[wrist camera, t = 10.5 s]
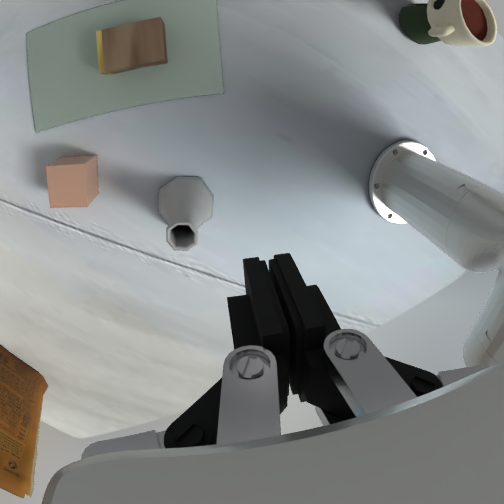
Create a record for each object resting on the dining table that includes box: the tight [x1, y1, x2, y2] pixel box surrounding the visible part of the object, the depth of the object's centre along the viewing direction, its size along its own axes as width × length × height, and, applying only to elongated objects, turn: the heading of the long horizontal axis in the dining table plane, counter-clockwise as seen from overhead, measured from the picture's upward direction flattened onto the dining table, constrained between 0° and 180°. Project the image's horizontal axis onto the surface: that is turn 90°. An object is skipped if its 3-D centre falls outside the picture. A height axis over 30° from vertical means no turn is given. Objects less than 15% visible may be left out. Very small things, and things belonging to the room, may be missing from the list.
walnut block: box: [96, 17, 168, 75], centre depth 27 cm, size 4×5×7 cm
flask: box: [158, 176, 213, 251], centre depth 35 cm, size 7×7×10 cm
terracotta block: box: [46, 155, 99, 208], centre depth 33 cm, size 5×5×5 cm
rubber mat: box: [27, 0, 224, 133], centre depth 29 cm, size 24×14×1 cm, turn 94°
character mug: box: [400, 0, 497, 46], centre depth 25 cm, size 11×7×13 cm, turn 130°
